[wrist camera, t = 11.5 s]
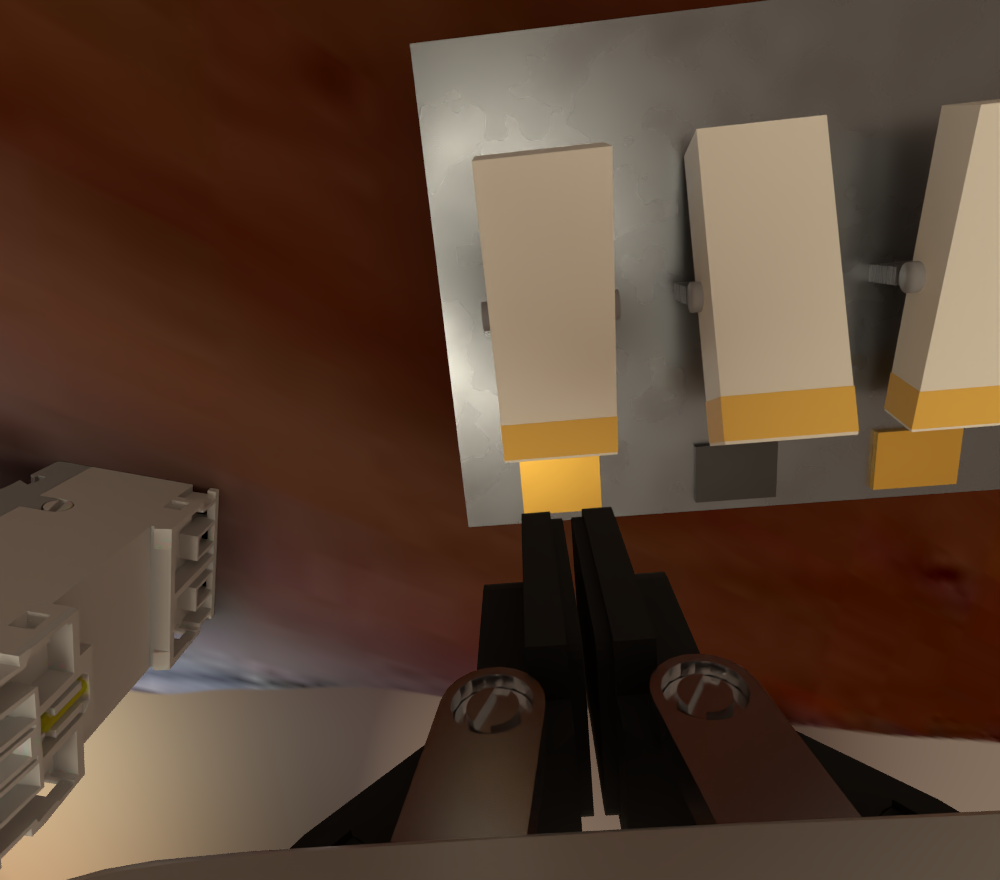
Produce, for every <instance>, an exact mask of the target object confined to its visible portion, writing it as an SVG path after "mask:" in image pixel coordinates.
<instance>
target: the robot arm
mask: <svg viewBox="0 0 1000 880" xmlns="http://www.w3.org/2000/svg"><path fill="white" fill-rule="evenodd" d="M521 521H522V557H523V582H517V583H504V584H490V585H484V590H483V602H482V614H481V627H480V639H479V652H478V664H477V671H473V672H470V673H468V674H466V675H465V676H463V677H461V678H459V679H457V680H456V681H455V682H454V683H453V684H452V685H451V686H450V687H449V688H448V689H447V690H446V692H445V694H444V695H443V697H442V699H441V701H440V704H439V707H438V710H437V712H436V715H435V718H434V721H433V724H432V726H431V729H430V732H429V735H428V738H427V741H426V743H425V745H424V746H423V747H421V748H420V749H419V750H417V751H416V752H415V753H413V754H412V755H411V756H409V757H408V758H407V759H405V760H404V761H403V762H401V763H400V764H399V765H397V766H396V767H395V768H393V769H392V770H391V771H389V772H388V773H386V774H385V775H384V776H382V777H381V778H380V779H378V780H377V781H376V782H375V783H373V784H372V785H370V786H369V787H368V788H366V789H365V790H364V791H362V792H361V793H360V794H358V795H357V796H356V797H354V798H353V799H352V800H350V801H349V802H348V803H346V804H345V805H344V806H342V807H341V808H340V809H338V810H337V811H336V812H334V813H333V814H332V815H331V816H329V817H328V818H326V819H325V820H324V821H322V822H321V823H320V824H318V825H317V826H316V827H314V828H313V829H312V830H310V831H309V832H308V833H306V834H305V835H304V836H303V837H302V838H301V839H300V840H298V841H297V842H296V843H295V844H294V845H293V846H292V847H291V848H290V849H279V850H262V851H249V852H238V853H227V854H217V855H206V856H197V857H186V858H176V859H165V860H155V861H149V862H144V863H138V864H132V865H126V866H121V867H115V868H109V869H104V870H100V871H97V872H93V873H90V874H86V875H83V876H79V877H75V878H71V879H68V880H1000V811H981V812H959V811H957V810H955V809H953V808H952V807H950V806H948V805H947V804H945V803H943V802H942V801H940V800H938V799H936V798H934V797H932V796H930V795H928V794H926V793H924V792H922V791H919V790H917V789H915V788H913V787H911V786H909V785H907V784H905V783H903V782H901V781H899V780H897V779H895V778H892V777H891V776H888V775H886V774H884V773H882V772H880V771H878V770H876V769H874V768H872V767H870V766H868V765H866V764H864V763H861V762H859V761H857V760H855V759H853V758H851V757H849V756H847V755H845V754H843V753H841V752H839V751H837V750H834V749H833V748H830V747H828V746H826V745H824V744H822V743H820V742H818V741H816V740H814V739H812V738H810V737H808V736H805V735H804V734H802V733H799V732H797V731H795V729H794V728H793V727H792V725H791V724H790V723H789V721H788V720H787V719H786V717H785V716H784V715H783V714H782V712H781V711H780V710H779V708H778V707H777V706H776V704H775V703H774V702H773V700H772V699H771V698H770V697H769V695H768V694H767V693H766V691H765V690H764V689H763V687H762V686H761V685H760V683H759V682H758V681H757V680H756V679H755V678H754V677H753V676H752V675H751V674H750V673H749V672H748V671H747V670H746V669H745V668H743V667H741V666H739V665H738V664H736V663H734V662H733V661H730V660H727V659H724V658H721V657H718V656H714V655H706V654H700V652H699V650H698V648H697V645H696V643H695V641H694V638H693V636H692V634H691V632H690V629H689V627H688V625H687V622H686V620H685V618H684V615H683V613H682V611H681V608H680V606H679V604H678V601H677V599H676V597H675V594H674V592H673V590H672V587H671V585H670V583H669V580H668V578H667V576H666V574H665V573H664V572H653V573H639V574H634V571H633V568H632V565H631V562H630V559H629V556H628V553H627V550H626V548H625V545H624V542H623V539H622V536H621V533H620V530H619V527H618V524H617V521H616V518H615V515H614V512H613V510H612V507H599V508H587V509H582V517H571V527H572V542H573V557H574V572H575V587H576V600H575V593H574V587H573V581H572V575H571V569H570V563H569V557H568V551H567V545H566V539H565V532H564V526H563V520H562V518H557V519H551V515H550V511H549V512H536V513H523V514H521ZM576 602H577V606H576ZM586 695H587V699H586ZM587 701H588V707H589V713H590V720H591V727H592V733H593V740H594V746H595V753H596V759H597V765H598V772H599V778H600V785H601V792H602V798H603V805H604V811H605V815H619V819H620V824H621V829H620V830H603V831H583V832H582V823H581V817H586V816H594V808H593V793H592V777H591V761H590V746H589V732H588V731H589V730H588V715H587Z"/></svg>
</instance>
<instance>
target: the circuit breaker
mask: <svg viewBox="0 0 1000 880" xmlns="http://www.w3.org/2000/svg"><path fill="white" fill-rule="evenodd" d="M218 504H219V489H215V488H210V489H209V490H208V493H207V494H204V493H198V492H193V485H192V484H187V483H181V482H175V481H170V480H164V479H158V478H153V477H147V476H141V475H136V474H130V473H124V472H119V471H113V470H107V469H102V468H96V467H90V466H85V465H79V464H73V463H67V462H62V461H59V462H55V463H53V464H51V465H49V466H47V467H45V468H43V469H41V470H39V471H37V472H35V473H33V474H31V483H30V484H28V485H27V484H26V483H24V482H23V481H21V480H19V481H17V482H15V483H13V484H11V485H9V486H7V487H5V488H2V489H0V869H1V858H2V857H3V856H4V855H5V854H6V853H7V852H8V851H9V850H10V849H11V848H12V847H13V846H14V845H15V844H16V843H17V842H18V841H19V840H20V839H21V838H22V837H23V836H24V835H26V836H33V835H34V834H35V833H36V832H37V831H38V830H39V829H40V828H41V827H42V826H43V825H44V824H45V823H46V822H47V820H48V819H49V818H50V817H51V815H52V814H53V813H54V812H55V810H56V809H57V808H58V806H59V805H60V804H61V803H62V802H63V801H64V799H65V798H66V797H67V795H68V794H69V793H70V792H71V790H72V789H73V788H74V787H75V786H76V784H77V783H78V782H79V781H80V779H81V778H82V777H83V776H84V774H85V768H84V743H85V742H86V740H87V739H88V738H89V737H90V736H91V735H92V734H93V732H94V731H95V730H96V729H97V728H98V726H99V725H100V724H101V723H102V722H103V721H104V720H105V718H106V717H107V716H108V715H109V714H110V713H111V711H112V710H113V709H114V708H115V707H116V706H117V704H118V703H119V702H120V701H121V700H122V699H123V698H124V696H125V695H126V694H127V693H128V692H129V691H130V689H131V688H132V687H133V686H134V685H135V684H136V682H137V681H138V680H139V679H140V678H141V677H142V675H143V674H144V673H145V672H146V671H147V670H148V668H149V667H150V666H152V667H153V670H170V668H171V667H172V666H173V665H174V663H175V662H176V661H177V660H178V658H179V657H180V656H181V655H182V653H183V652H184V651H185V650H186V649H187V647H188V646H189V645H190V644H191V642H192V641H193V640H194V639H195V637H196V636H197V635H198V634H199V632H200V625H201V624H202V623H203V622H204V620H205V619H206V618H210V619H211V618H212V616H213V615H214V602H215V578H216V553H217V529H218ZM206 510H207V515H203V514H197V513H196V512H201V513H204V512H205V511H206ZM207 530H208V539H203V538H202V535H203V534H204V533H205V532H206V531H207ZM205 581H206V586H202V584H203V583H204V582H205ZM174 633H180V634H183V635H182V637H181V638H180V639H175V638H174ZM44 782H47V783H54V784H57V785H56V786H55V787H54V788H53V789H52V790H51V792H50V793H49V794H48V795H47V796H46V797H44V796H38V795H36V794H37V793H38V792H39V791H40V790H41V789H42V788H43V787H44Z"/></svg>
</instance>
